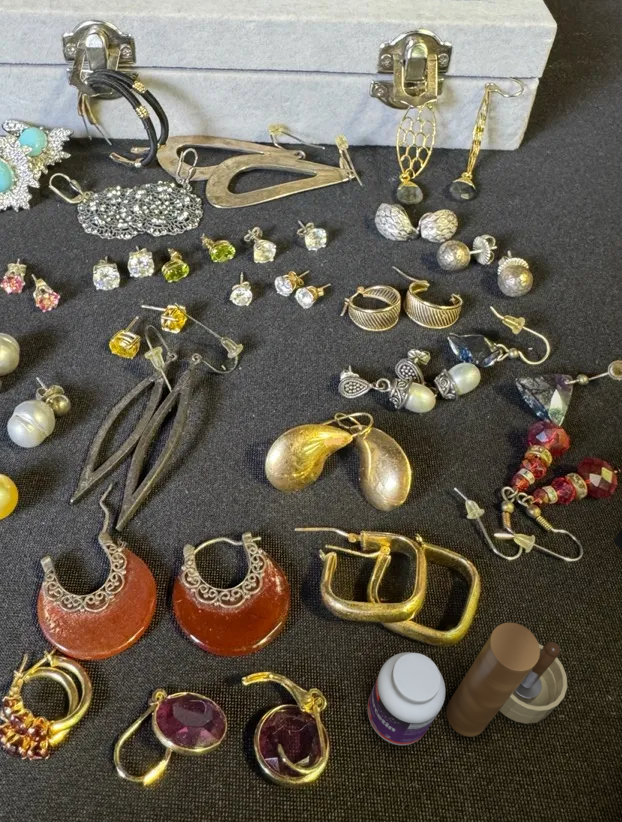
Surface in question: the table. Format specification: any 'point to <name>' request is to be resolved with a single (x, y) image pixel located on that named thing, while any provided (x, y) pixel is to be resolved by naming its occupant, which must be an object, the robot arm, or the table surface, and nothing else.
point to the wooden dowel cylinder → (492, 678)
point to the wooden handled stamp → (537, 674)
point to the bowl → (539, 697)
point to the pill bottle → (406, 698)
